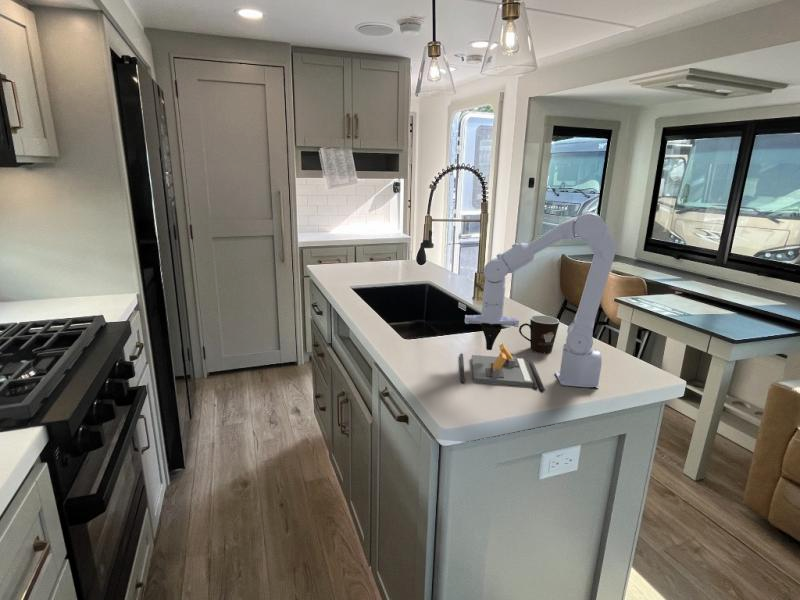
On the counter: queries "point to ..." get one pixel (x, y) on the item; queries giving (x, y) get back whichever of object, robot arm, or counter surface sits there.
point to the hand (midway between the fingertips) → (488, 348)
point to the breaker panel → (501, 371)
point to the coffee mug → (542, 333)
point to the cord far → (462, 368)
